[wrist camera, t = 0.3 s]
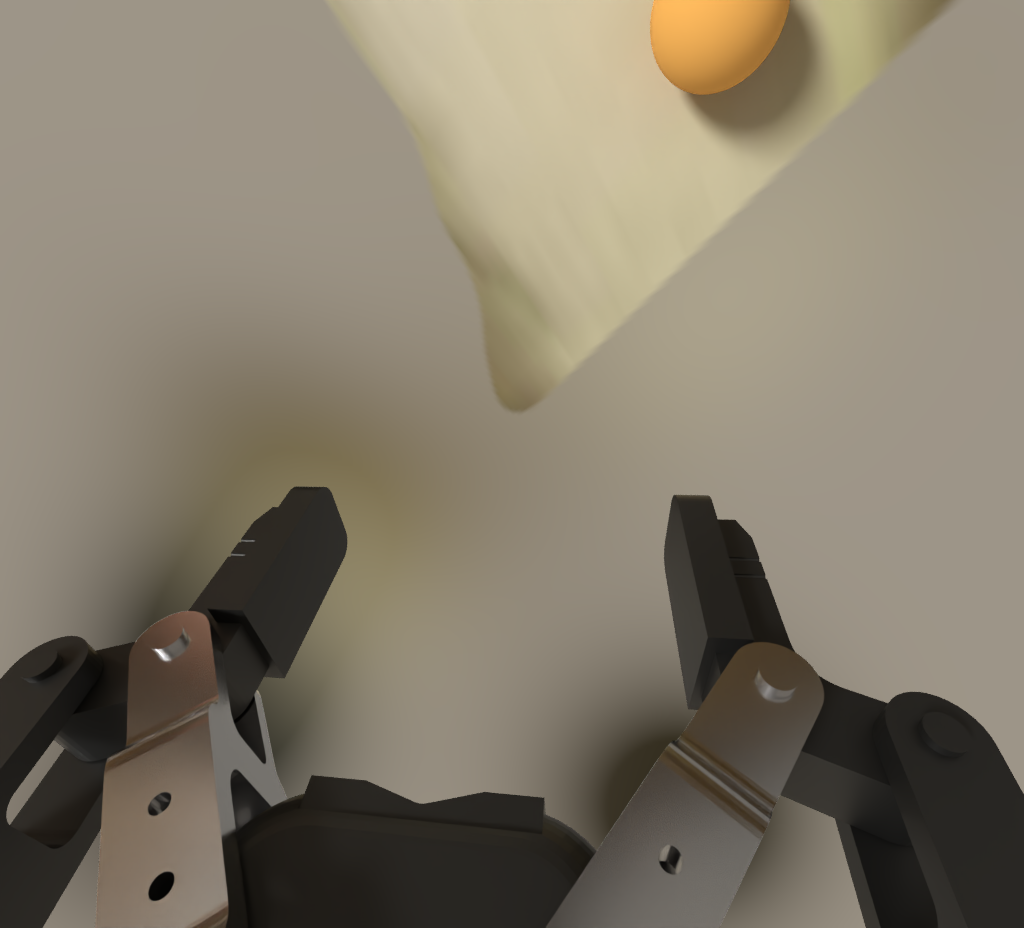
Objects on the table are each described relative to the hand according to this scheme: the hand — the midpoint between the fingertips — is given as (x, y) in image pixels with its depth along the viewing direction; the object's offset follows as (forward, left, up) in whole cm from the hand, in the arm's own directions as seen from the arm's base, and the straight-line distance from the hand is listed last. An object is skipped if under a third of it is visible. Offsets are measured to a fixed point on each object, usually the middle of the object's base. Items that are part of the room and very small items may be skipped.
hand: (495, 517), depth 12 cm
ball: (-10, +8, -24) cm, 27 cm away
